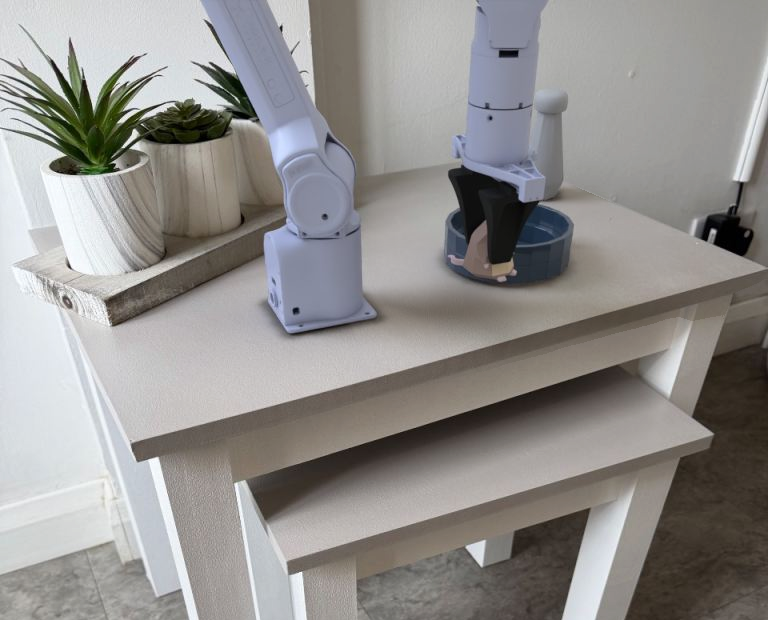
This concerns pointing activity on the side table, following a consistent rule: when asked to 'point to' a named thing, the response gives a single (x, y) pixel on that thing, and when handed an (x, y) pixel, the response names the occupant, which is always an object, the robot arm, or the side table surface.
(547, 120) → the salt shaker
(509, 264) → the mouse figurine
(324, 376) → the side table surface
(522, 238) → the bowl
